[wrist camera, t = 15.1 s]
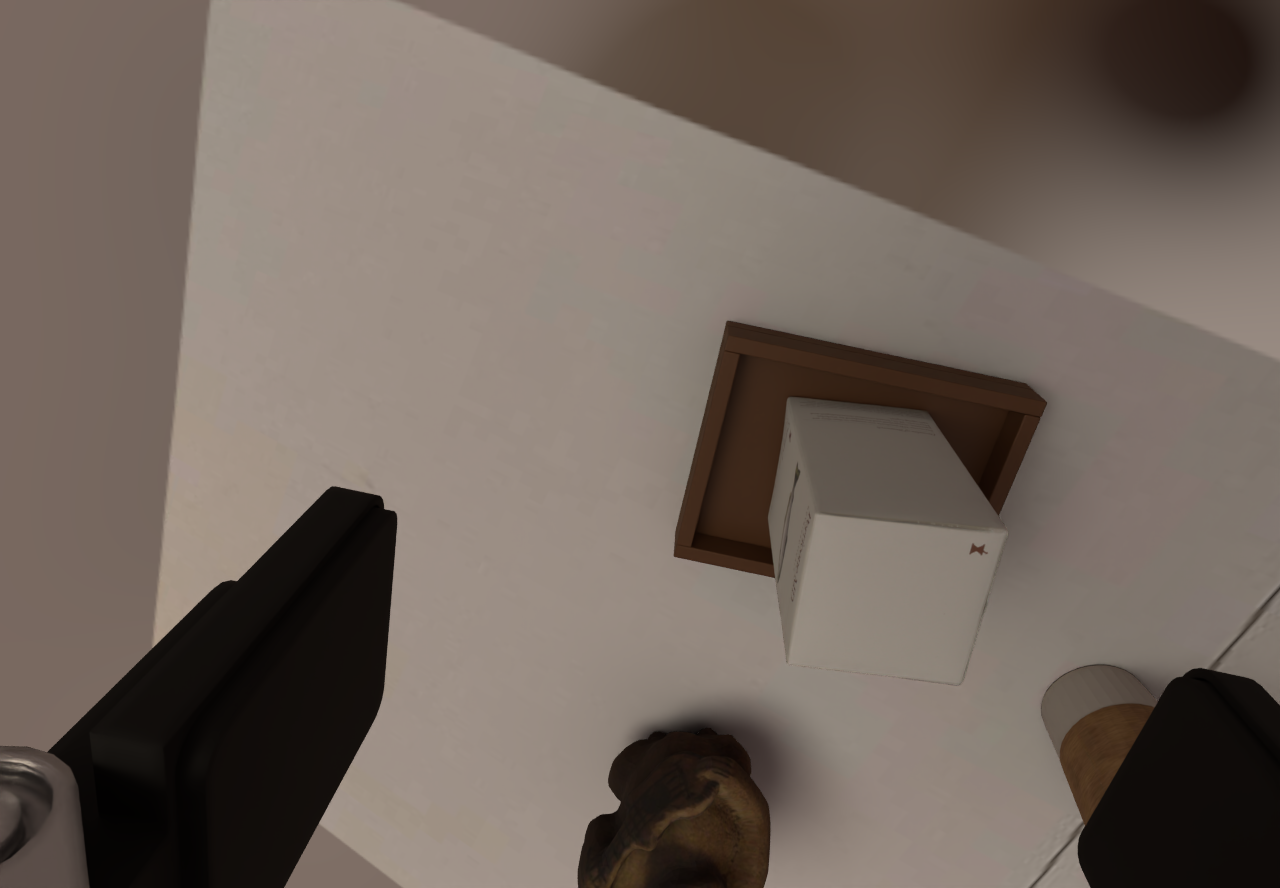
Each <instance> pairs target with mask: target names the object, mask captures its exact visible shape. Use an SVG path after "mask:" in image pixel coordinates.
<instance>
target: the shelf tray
mask: <svg viewBox="0 0 1280 888" xmlns="http://www.w3.org/2000/svg"><path fill="white" fill-rule="evenodd" d="M789 397H800V398H811V399H820V400H831V401H840V402H850V403H859V404H869V405H878V406H887V407H896V408H906V409H915V410H923V411H927V412H928V413H929V415H930V416H931V418H932V419H933V421H934V422H935V423H936V425H937V426H938V428H939V429H940V431H941V432H942V434H943V435H944V437H945V438H946V440H947V441H948V443H949V444H950V446H951V447H952V449H953V450H954V451H955V453H956V454H957V456H958V457H959V459H960V460H961V462H962V463H963V465H964V466H965V468H966V469H967V471H968V472H969V473H970V475H971V476H972V478H973V479H974V481H975V482H976V484H977V485H978V487H979V488H980V490H981V491H982V493H983V494H984V496H985V497H986V499H987V500H988V501H989V503H990V504H991V506H992V507H993V509H994V510H995V512H996V513H997V515H998V516H999V514H1000V511H1001V509H1002V507H1003V504H1004V502H1005V500H1006V497H1007V495H1008V493H1009V490H1010V488H1011V486H1012V483H1013V481H1014V479H1015V477H1016V474H1017V472H1018V470H1019V467H1020V465H1021V463H1022V460H1023V458H1024V456H1025V453H1026V451H1027V449H1028V446H1029V444H1030V442H1031V439H1032V437H1033V435H1034V432H1035V430H1036V428H1037V425H1038V423H1039V421H1040V417H1041V416H1042V414H1043V412H1044V409H1045V407H1046V405H1047V402H1046V401H1045V400H1044V399H1043V398H1042V397H1040V396H1039V395H1038V394H1037V393H1036V392H1035V391H1034V390H1033V389H1032V388H1031V387H1029V386H1028V385H1027V384H1026V383H1021V382H1016V381H1011V380H1007V379H1002V378H997V377H992V376H988V375H983V374H978V373H973V372H969V371H964V370H959V369H954V368H950V367H945V366H940V365H936V364H931V363H926V362H921V361H917V360H912V359H907V358H902V357H898V356H893V355H888V354H883V353H879V352H874V351H869V350H864V349H860V348H855V347H850V346H846V345H841V344H836V343H831V342H827V341H822V340H817V339H812V338H808V337H803V336H798V335H793V334H789V333H784V332H779V331H774V330H770V329H765V328H760V327H756V326H751V325H746V324H741V323H737V322H732V321H727V322H726V326H725V331H724V335H723V339H722V343H721V347H720V351H719V355H718V359H717V363H716V367H715V372H714V376H713V380H712V384H711V388H710V392H709V396H708V400H707V404H706V408H705V413H704V417H703V421H702V425H701V429H700V433H699V437H698V441H697V445H696V449H695V454H694V458H693V462H692V466H691V470H690V474H689V478H688V482H687V486H686V490H685V495H684V499H683V503H682V507H681V511H680V515H679V519H678V523H677V527H676V532H675V546H674V557H678V558H683V559H687V560H692V561H697V562H702V563H707V564H711V565H716V566H721V567H726V568H730V569H735V570H740V571H745V572H749V573H754V574H759V575H764V576H768V577H773V578H775V572H774V564H773V556H772V549H771V540H770V531H769V523H768V514H769V509H770V504H771V500H772V495H773V490H774V484H775V479H776V473H777V468H778V462H779V456H780V450H781V444H782V438H783V431H784V423H785V414H786V405H787V399H788V398H789Z"/></svg>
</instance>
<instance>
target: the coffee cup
mask: <svg viewBox="0 0 1280 888" xmlns="http://www.w3.org/2000/svg"><path fill="white" fill-rule="evenodd" d="M1157 703H1158V701H1157V700H1156V699H1155V698H1154V697H1153V696H1152V695H1151V694H1150V692H1149V691H1148V690H1147V689H1146V688H1145V687H1144V686H1143V685H1142V684H1141V683H1140V682H1139V681H1138V680H1137V679H1136V678H1135V677H1134V676H1133V675H1132V674H1130V673H1128V672H1127V671H1125V670H1122V669H1120V668H1117V667H1112V666H1107V665H1094V666H1086V667H1083V668H1079V669H1076V670H1073V671H1071V672H1069V673H1067V674H1065V675H1064V676H1062V677H1060V678H1059V679H1058V680H1057V681H1056V682H1054V683H1053V684H1052V685H1051V687H1050V688H1049V689H1048V691H1047V692H1046V694H1045V696H1044V698H1043V701H1042V706H1041V712H1042V718H1043V721H1044V724H1045V726H1046V729H1047V731H1048V733H1049V736H1050V738H1051V740H1052V743H1053V745H1054V747H1055V750H1056V752H1057V754H1058V757H1059V759H1060V762H1061V765H1062V768H1063V771H1064V773H1065V776H1066V778H1067V781H1068V783H1069V786H1070V789H1071V791H1072V794H1073V796H1074V799H1075V801H1076V804H1077V806H1078V809H1079V811H1080V814H1081V817H1082V819H1083V822H1084V824H1085V826H1086V824H1087V822H1088V820H1089V819H1090V817H1091V815H1092V814H1093V812H1094V810H1095V808H1096V807H1097V805H1098V803H1099V802H1100V800H1101V798H1102V797H1103V795H1104V793H1105V791H1106V790H1107V788H1108V786H1109V785H1110V783H1111V781H1112V779H1113V778H1114V776H1115V774H1116V773H1117V771H1118V769H1119V767H1120V766H1121V764H1122V762H1123V761H1124V759H1125V757H1126V756H1127V754H1128V752H1129V750H1130V749H1131V747H1132V745H1133V744H1134V742H1135V740H1136V738H1137V737H1138V735H1139V733H1140V732H1141V730H1142V728H1143V726H1144V725H1145V723H1146V721H1147V720H1148V718H1149V716H1150V715H1151V713H1152V711H1153V709H1154V708H1155V706H1156V704H1157Z"/></svg>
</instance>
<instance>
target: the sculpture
mask: <svg viewBox="0 0 1280 888" xmlns="http://www.w3.org/2000/svg"><path fill="white" fill-rule="evenodd" d="M750 774H751V761H750V758H749V756H748V754H747V752H746V750H745V749H744V748H743V747H742V746H741V745H740V744H739V743H738V742H737V741H736V739H735V738H734V737H733V736H732V735H729V734H727V735H717V733H716V732H715V731H714V730H712V729H711V728H704V729H702V730H701V731H699V732H698V733H697V734H696V735H695V734H692V733H689V732H677V731H674V732H670V733H669V734H668V735H667V734H665V733H663V732H653V733H652V734H651V735H650V736H649V738H648V739H643V740H638V741H636V742H634V743H632V744H631V745H629V746H628V747H626V748H625V749H624V750H623V751H622V752H621V753H620V754H619V755H618V756H617V757H616V758H615V760H614V761H613V763H612V766H611V770H610V773H609V778H608V784H609V787H610V788H611V790H612V792H613V793H614V795H615V796H616V797H617V799H619V800H620V801H621V804H620V806H619V808H618V810H617V811H616V812H614V813H612V814H602V815H600V816H598V817H596V818H595V819H593V820H592V821H591V822H590V823H589V825H588V828H587V831H586V834H585V840H584V844H583V846H582V851H581V856H580V861H579V866H578V888H763V887H764V885H765V881H766V878H767V874H768V866H769V852H770V813H769V806H768V803H767V801H766V799H765V797H764V796H763V794H762V792H761V791H760V789H759V788H758V787H757V785H756V784H755V783H754V781H753V780H752V779H751V777H750Z"/></svg>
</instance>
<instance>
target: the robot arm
mask: <svg viewBox="0 0 1280 888" xmlns="http://www.w3.org/2000/svg"><path fill="white" fill-rule="evenodd" d="M396 533H397V514H396V513H395V511H390V510H385V509H384V503H383V499H382V498H381V496H378V495H374V494H369V493H364V492H359V491H355V490H350V489H345V488H340V487H330V488H329V489H328V490H326V491H325V492H324V493H323V494H322V495H321V497H320V498H319V499H318V500H317V501H316V502H315V503H314V504H313V505H312V506H311V507H310V508H309V509H308V510H307V511H306V512H305V513H304V514H303V515H302V516H301V517H300V518H299V519H298V520H297V521H296V522H295V523H294V524H293V525H292V526H291V527H290V528H289V529H288V530H287V531H286V532H285V533H284V534H283V535H282V536H281V537H280V538H279V539H278V540H277V541H276V542H275V543H274V544H273V545H272V546H271V547H270V548H269V549H268V551H267V552H266V553H265V554H264V555H263V556H262V557H261V558H260V559H259V560H258V561H257V562H256V563H255V564H254V565H253V566H252V567H251V568H250V569H249V570H248V571H247V572H246V573H245V574H244V575H243V576H242V577H241V578H240V579H239V580H238V581H233V580H230V581H226V582H222V583H221V584H219V585H218V586H217V587H215V588H214V589H213V590H211V591H210V592H209V593H208V594H207V595H206V596H205V597H204V598H203V599H202V600H201V601H200V602H199V603H198V604H197V605H196V606H195V607H194V608H193V609H192V610H191V611H190V612H189V613H188V614H187V615H186V616H185V617H184V618H183V619H182V620H181V621H180V622H179V623H178V624H177V625H176V626H175V627H174V628H173V629H172V630H171V631H170V632H169V633H168V634H167V635H166V636H165V637H164V638H163V639H162V640H161V641H160V642H159V643H158V644H157V645H156V646H154V647H153V648H152V649H151V650H150V651H149V652H148V653H147V654H146V655H145V656H144V657H143V658H142V659H141V660H140V661H139V662H138V663H137V664H136V665H135V666H134V667H133V668H132V669H131V670H130V671H129V672H128V673H127V674H126V675H125V676H124V677H123V678H122V679H121V680H120V681H119V682H118V683H117V684H116V685H115V686H114V687H113V688H112V689H111V690H110V691H109V692H108V693H107V694H106V695H105V696H104V697H103V698H102V699H101V700H100V701H99V702H98V703H97V704H96V705H95V706H94V707H93V708H92V709H91V710H89V712H87V714H86V715H84V717H82V718H81V719H80V720H79V721H78V722H77V723H76V724H75V725H74V726H73V727H72V728H71V729H70V730H69V731H68V732H67V733H66V734H65V735H64V736H63V737H62V738H61V739H60V740H59V741H58V742H57V743H56V744H55V745H54V746H53V747H52V748H51V749H50V750H49V751H48V752H44V751H40V750H37V749H33V748H30V747H19V746H0V888H284V887H285V885H286V883H287V881H288V879H289V877H290V876H291V874H292V872H293V870H294V868H295V866H296V864H297V863H298V861H299V859H300V857H301V855H302V853H303V851H304V849H305V848H306V846H307V844H308V842H309V840H310V838H311V837H312V835H313V833H314V831H315V829H316V827H317V825H318V824H319V822H320V820H321V818H322V816H323V814H324V813H325V811H326V809H327V807H328V805H329V803H330V801H331V800H332V798H333V796H334V794H335V792H336V790H337V789H338V787H339V785H340V783H341V781H342V779H343V777H344V776H345V774H346V772H347V770H348V768H349V766H350V764H351V763H352V761H353V759H354V757H355V755H356V753H357V751H358V750H359V748H360V746H361V744H362V742H363V740H364V739H365V737H366V735H367V733H368V731H369V729H370V727H371V726H372V724H373V722H374V720H375V718H376V716H377V713H378V710H379V707H380V704H381V701H382V696H383V691H384V682H385V670H386V657H387V645H388V632H389V620H390V607H391V595H392V582H393V570H394V558H395V545H396ZM1078 858H1079V863H1080V866H1081V868H1082V871H1083V873H1084V875H1085V877H1086V879H1087V881H1088V883H1089V885H1090V887H1091V888H1280V705H1279V704H1278V703H1277V702H1276V701H1275V700H1274V699H1273V698H1272V697H1271V696H1270V695H1269V694H1268V692H1267V691H1266V690H1265V689H1264V688H1263V687H1262V686H1261V685H1259V684H1258V683H1257V682H1255V681H1254V680H1252V679H1249V678H1245V677H1241V676H1236V675H1231V674H1227V673H1222V672H1217V671H1212V670H1207V669H1203V668H1198V669H1192V670H1190V671H1189V672H1187V673H1185V675H1184V676H1183V677H1177V678H1175V679H1174V680H1172V681H1171V682H1170V683H1169V684H1168V686H1167V687H1166V689H1165V691H1164V692H1163V694H1162V696H1161V697H1160V699H1159V701H1158V703H1157V704H1156V706H1155V708H1154V709H1153V711H1152V713H1151V715H1150V716H1149V718H1148V720H1147V721H1146V723H1145V725H1144V726H1143V728H1142V730H1141V732H1140V733H1139V735H1138V737H1137V738H1136V740H1135V742H1134V744H1133V745H1132V747H1131V749H1130V750H1129V752H1128V754H1127V756H1126V757H1125V759H1124V761H1123V762H1122V764H1121V766H1120V767H1119V769H1118V771H1117V773H1116V774H1115V776H1114V778H1113V779H1112V781H1111V783H1110V785H1109V786H1108V788H1107V790H1106V791H1105V793H1104V795H1103V797H1102V798H1101V800H1100V802H1099V803H1098V805H1097V807H1096V808H1095V810H1094V812H1093V814H1092V815H1091V817H1090V819H1089V820H1088V822H1087V824H1086V826H1085V827H1084V829H1083V831H1082V832H1081V835H1080V837H1079V842H1078Z"/></svg>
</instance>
